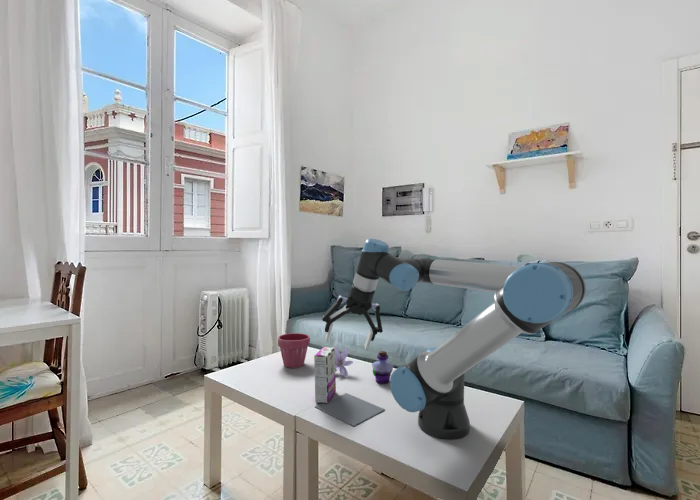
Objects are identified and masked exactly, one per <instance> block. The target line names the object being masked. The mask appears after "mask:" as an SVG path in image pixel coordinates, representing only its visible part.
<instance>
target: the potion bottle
mask: <svg viewBox="0 0 700 500" xmlns="http://www.w3.org/2000/svg"><path fill="white" fill-rule="evenodd" d="M376 357H377V359H378V361H374V362H373V363H372V364H371V365H372V375H373V377H374V379H375V383H377V384H379V385H388V384H389V383H390V378H391V375H392V373H393V371H394V370H393V369H394V364H393V363H392V362H391V361H387V360H388V359H389V355H388V353H387V351H384V350H380V351H379V352H378V354H377V356H376Z"/></svg>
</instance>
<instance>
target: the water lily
mask: <svg viewBox="0 0 700 500" xmlns="http://www.w3.org/2000/svg"><path fill="white" fill-rule="evenodd" d="M333 348H335V373H336V372H338V371H339V374H341V375H342V376H343V377H344V378H345V379H348V378H349V373H348V370H347V368H346V367H345V366H347V367H348V366H351V365H353V364H354V361H353V360H346V359H347V357H348V354H349V347H346V348H345V349H344V350H343V351H342V352H341V353H340V351H339V348H338V347H337V346H335V345H334V346H333Z"/></svg>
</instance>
